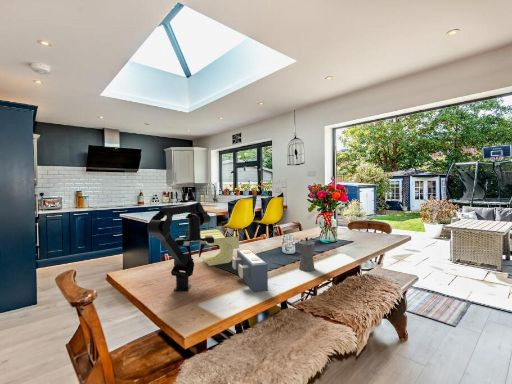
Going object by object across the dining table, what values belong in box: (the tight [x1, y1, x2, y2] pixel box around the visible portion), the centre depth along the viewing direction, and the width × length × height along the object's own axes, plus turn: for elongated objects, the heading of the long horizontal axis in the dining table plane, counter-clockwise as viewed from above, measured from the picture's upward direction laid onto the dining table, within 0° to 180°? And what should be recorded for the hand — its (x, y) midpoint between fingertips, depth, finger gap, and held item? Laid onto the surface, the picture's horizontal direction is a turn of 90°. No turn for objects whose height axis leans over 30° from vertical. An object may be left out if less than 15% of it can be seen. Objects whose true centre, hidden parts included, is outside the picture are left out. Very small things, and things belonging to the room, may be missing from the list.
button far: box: [231, 256, 242, 270], centre depth 141 cm, size 6×5×5 cm
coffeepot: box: [298, 236, 316, 272], centre depth 153 cm, size 15×9×18 cm, turn 12°
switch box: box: [236, 249, 269, 293], centre depth 135 cm, size 7×30×12 cm, turn 18°
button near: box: [238, 264, 250, 279], centre depth 127 cm, size 6×5×5 cm
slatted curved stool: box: [200, 229, 240, 267], centre depth 170 cm, size 30×16×18 cm, turn 29°
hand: (195, 257), depth 135 cm, fingers open, 4 cm apart
